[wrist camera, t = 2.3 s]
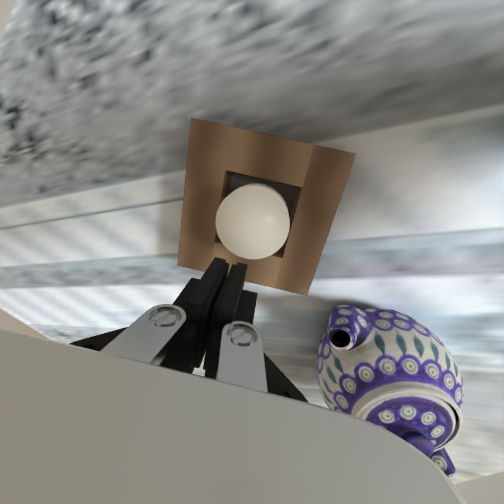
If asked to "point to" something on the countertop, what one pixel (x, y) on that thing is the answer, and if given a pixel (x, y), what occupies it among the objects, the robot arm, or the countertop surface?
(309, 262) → the housing
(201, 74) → the countertop surface
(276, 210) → the button
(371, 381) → the teapot
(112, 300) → the countertop surface
